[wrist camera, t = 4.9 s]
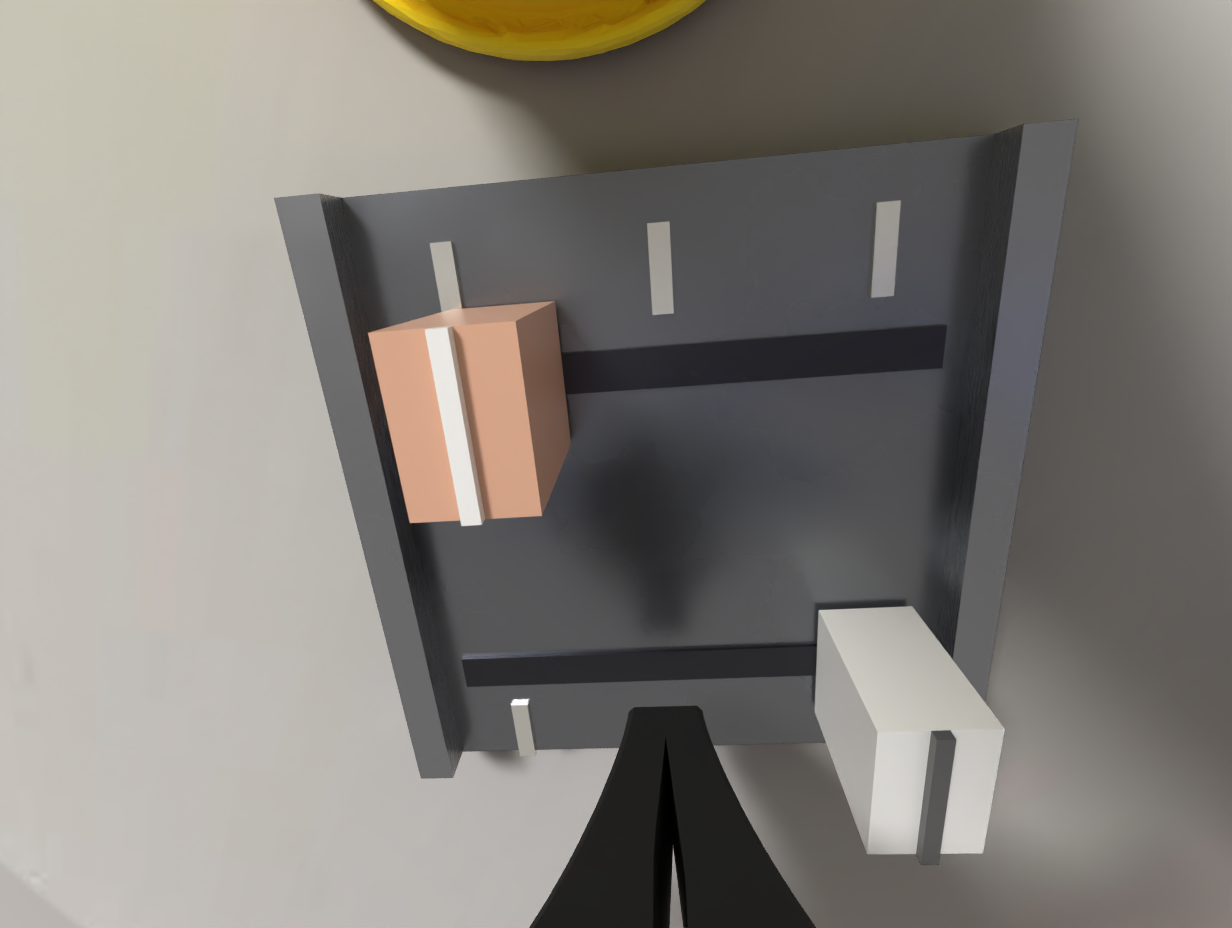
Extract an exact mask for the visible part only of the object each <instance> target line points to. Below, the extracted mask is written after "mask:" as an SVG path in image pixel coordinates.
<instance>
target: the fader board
mask: <svg viewBox="0 0 1232 928" xmlns="http://www.w3.org/2000/svg"><path fill="white" fill-rule="evenodd" d="M1077 124H1078V119H1069V120H1059V121H1049V122H1039V123H1029V124H1022V125H1020V126H1017V127H1014V128H1011V129H1008V130H1005V131H1002V132H999V133H996V134H990V135H980V136H970V137H960V138H949V139H939V140H929V141H919V142H908V143H898V144H888V145H878V146H868V147H857V148H847V149H837V150H827V151H816V152H806V153H796V154H786V155H776V156H765V157H755V158H745V159H735V160H724V161H714V162H704V163H694V164H684V165H673V166H663V167H653V168H643V169H632V170H622V171H612V172H602V173H592V174H581V175H571V176H561V177H551V178H540V179H530V180H520V181H510V182H500V183H489V184H479V185H469V186H459V187H448V188H438V189H428V190H418V191H408V192H397V193H387V194H377V195H367V196H356V197H346V198H340V197H335V196H329V195H324V194H310V195H299V196H289V197H279V198H274V200H275V204H276V208H277V212H278V216H279V220H280V224H281V228H282V231H283V235H284V239H285V243H286V247H287V251H288V255H289V259H290V263H291V267H292V271H293V275H294V279H295V283H296V287H297V291H298V295H299V299H300V303H301V306H302V310H303V314H304V318H305V322H306V326H307V330H308V334H309V338H310V342H311V346H312V350H313V354H314V358H315V362H316V366H317V370H318V374H319V378H320V381H321V385H322V389H323V393H324V397H325V401H326V405H327V409H328V413H329V417H330V421H331V425H332V429H333V433H334V437H335V441H336V445H337V449H338V453H339V457H340V460H341V464H342V468H343V472H344V476H345V480H346V484H347V488H348V492H349V496H350V500H351V504H352V508H353V512H354V516H355V520H356V524H357V528H358V532H359V535H360V539H361V543H362V547H363V551H364V555H365V559H366V563H367V567H368V571H369V575H370V579H371V583H372V587H373V591H374V595H375V599H376V603H377V607H378V610H379V614H380V618H381V622H382V626H383V630H384V634H385V638H386V642H387V646H388V650H389V654H390V658H391V662H392V666H393V670H394V674H395V678H396V682H397V685H398V689H399V693H400V697H401V701H402V705H403V709H404V713H405V717H406V721H407V725H408V729H409V733H410V737H411V741H412V745H413V749H414V753H415V757H416V760H417V764H418V768H419V772H420V776H421V778H453V776H454V774H455V771H456V768H457V766H458V763H459V760H460V757H461V755H462V752H463V751H504V750H519V753H520V756H536V750H544V749H584V748H619V747H620V744H621V741H622V738H623V734H624V731H625V727H626V723H627V718H628V713H629V711H630V710H631V709H633V708H634V707H659V706H698V707H699V708H700V709H701V710H703V715H704V719H705V723H706V726H707V730H708V732H709V735H710V738H711V741H712V744H713V745H746V744H786V743H826V741H825V738H824V736H823V733H822V730H821V728H820V725H819V722H818V719H817V717H816V714H815V689H816V663H817V638H818V612H819V610H834V609H858V608H883V607H907V606H912V607H913V608H914V609H915V611H916V612H917V613H918V615H919V616H920V617H921V619H922V620H923V621H924V622H925V624H926V625H927V626H928V628H929V629H930V630H931V632H932V633H933V634H934V636H935V637H936V638H937V640H938V641H939V642H940V644H941V645H942V646H943V648H944V649H945V650H946V652H947V653H948V654H949V656H950V657H951V658H952V660H953V661H954V662H955V663H956V665H957V666H958V667H959V669H960V670H961V671H962V673H963V674H964V675H965V677H966V678H967V679H968V681H969V682H970V683H971V685H972V686H973V687H974V689H975V690H976V691H977V693H978V694H979V695H980V697H981V698H982V699H983V701H984V702H985V699H986V693H987V687H988V681H989V674H990V668H991V662H992V656H993V649H994V643H995V637H996V631H997V624H998V618H999V612H1000V606H1001V599H1002V593H1003V587H1004V581H1005V574H1006V568H1007V562H1008V556H1009V549H1010V543H1011V537H1012V531H1013V524H1014V518H1015V512H1016V506H1017V499H1018V493H1019V487H1020V481H1021V474H1022V468H1023V462H1024V455H1025V449H1026V443H1027V437H1028V430H1029V424H1030V418H1031V412H1032V405H1033V399H1034V393H1035V387H1036V380H1037V374H1038V368H1039V362H1040V355H1041V349H1042V343H1043V337H1044V330H1045V324H1046V318H1047V312H1048V305H1049V299H1050V293H1051V287H1052V280H1053V274H1054V268H1055V262H1056V255H1057V249H1058V243H1059V236H1060V230H1061V224H1062V218H1063V211H1064V205H1065V199H1066V193H1067V186H1068V180H1069V174H1070V168H1071V161H1072V155H1073V149H1074V143H1075V136H1076V130H1077ZM550 301H555V306H556V315H557V323H558V332H559V341H560V350H561V359H562V368H563V377H564V386H565V394H566V403H567V412H568V421H569V430H570V439H571V445H570V447H569V450H568V452H567V455H566V457H565V460H564V462H563V465H562V467H561V470H560V472H559V475H558V477H557V480H556V482H555V485H554V487H553V490H552V492H551V495H550V497H549V500H548V502H547V505H546V507H545V510H544V512H543V515H542V516H532V517H514V518H496V519H485V520H484V522H483V524H482V525H472V526H461V521H460V520H459V521H441V522H422V523H410V522H409V517H408V513H407V508H406V504H405V499H404V494H403V490H402V485H401V481H400V476H399V472H398V467H397V463H396V458H395V454H394V449H393V444H392V440H391V435H390V431H389V426H388V422H387V417H386V413H385V408H384V403H383V399H382V394H381V390H380V385H379V381H378V376H377V372H376V367H375V363H374V358H373V353H372V349H371V344H370V340H369V335H368V333H369V332H373V331H376V330H380V329H383V328H387V327H390V326H394V325H398V324H401V323H405V322H408V321H412V320H415V319H419V318H423V317H426V316H430V315H433V314H437V313H440V312H444V311H448V310H452V309H464V308H476V307H489V306H501V305H513V304H525V303H537V302H550Z"/></svg>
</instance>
